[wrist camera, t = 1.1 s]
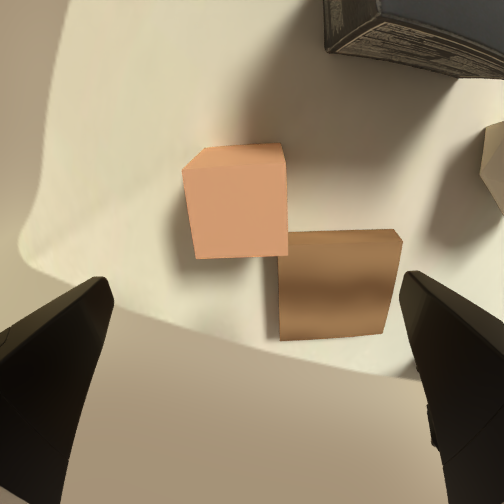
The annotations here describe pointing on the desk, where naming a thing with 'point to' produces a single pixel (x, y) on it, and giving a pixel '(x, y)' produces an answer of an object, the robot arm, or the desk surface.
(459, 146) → the desk surface
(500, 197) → the die
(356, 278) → the walnut slab
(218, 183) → the terracotta cube
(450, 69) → the small box
